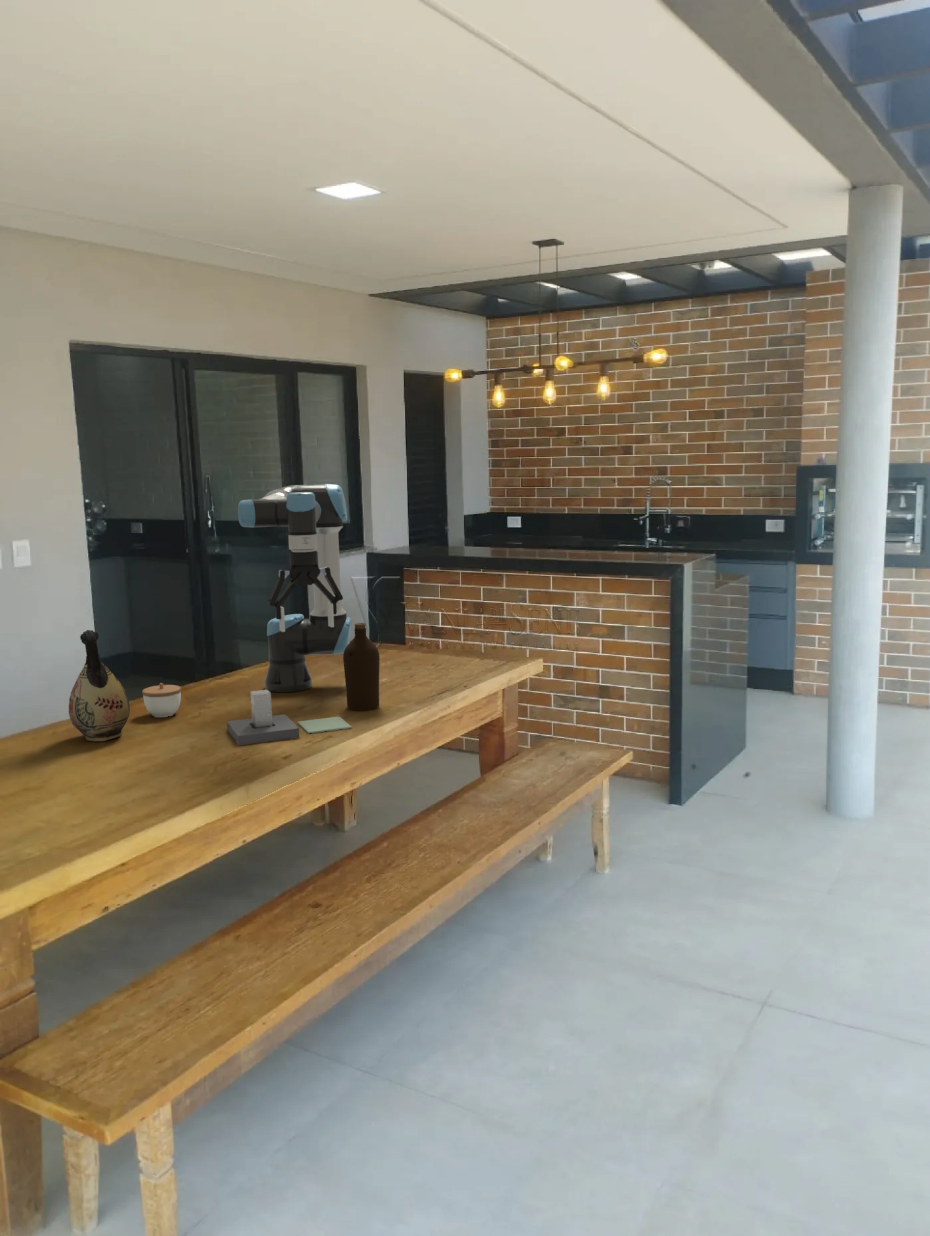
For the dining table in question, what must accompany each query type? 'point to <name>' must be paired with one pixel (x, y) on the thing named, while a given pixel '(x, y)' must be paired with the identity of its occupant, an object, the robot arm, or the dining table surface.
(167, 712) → the lidded jar
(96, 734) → the ceramic jug
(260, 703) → the metal peg
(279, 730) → the pocket block
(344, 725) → the green mat
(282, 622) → the robot arm
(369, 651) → the olive oil
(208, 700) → the dining table surface
